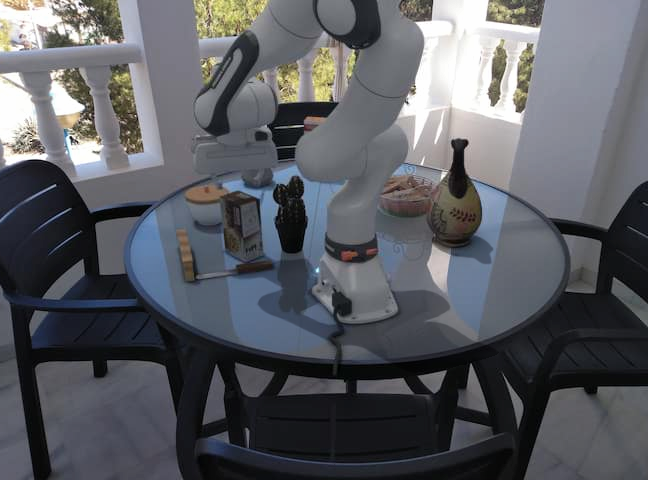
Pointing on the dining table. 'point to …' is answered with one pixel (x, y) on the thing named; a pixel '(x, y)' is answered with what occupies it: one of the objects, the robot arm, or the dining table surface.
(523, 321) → the dining table surface
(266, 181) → the coffee pot
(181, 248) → the oak rail
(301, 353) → the dining table surface
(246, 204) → the coffee box
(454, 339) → the dining table surface
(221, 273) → the table knife
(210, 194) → the lidded bowl
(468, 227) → the ceramic jug
